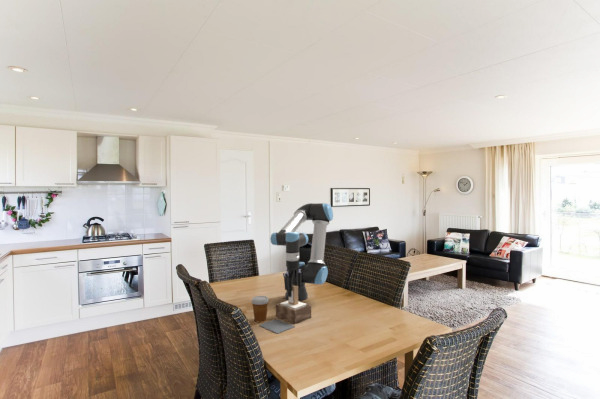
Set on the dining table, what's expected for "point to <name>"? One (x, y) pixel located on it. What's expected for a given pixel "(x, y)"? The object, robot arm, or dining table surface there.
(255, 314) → the disposable coffee cup
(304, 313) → the wooden box
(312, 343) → the dining table surface
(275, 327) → the rubber mat
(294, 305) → the cover plate
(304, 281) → the robot arm
